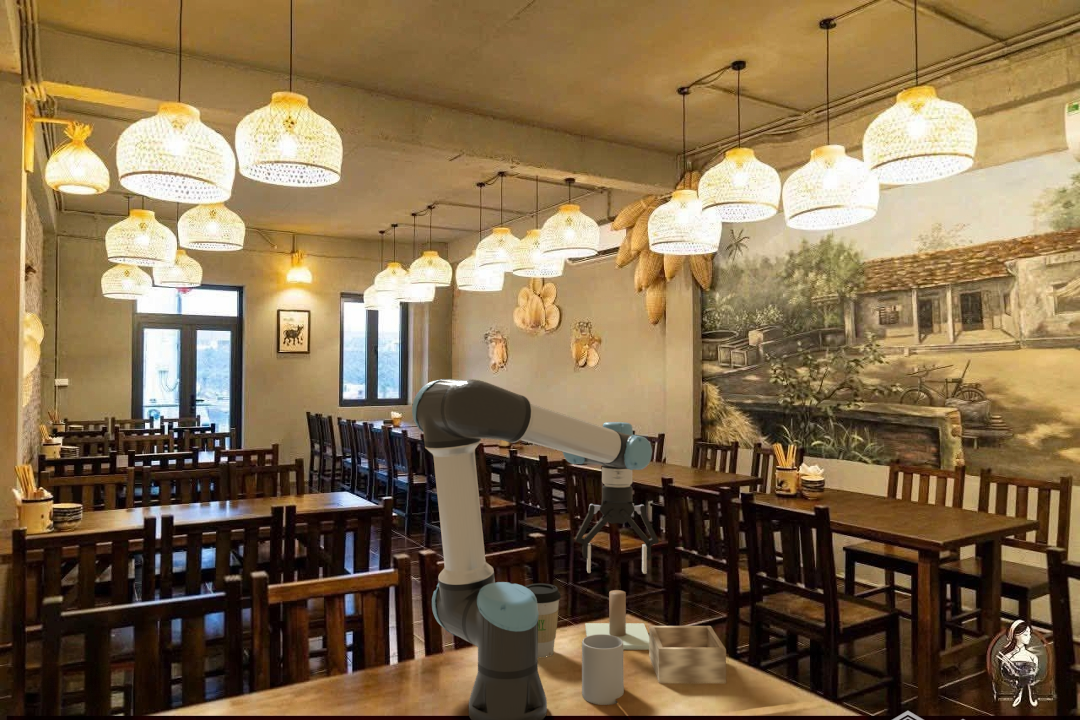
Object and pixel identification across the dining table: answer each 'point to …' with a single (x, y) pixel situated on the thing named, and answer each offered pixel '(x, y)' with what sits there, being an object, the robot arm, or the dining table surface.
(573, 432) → the robot arm
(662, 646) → the box
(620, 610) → the lid
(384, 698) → the dining table surface
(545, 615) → the coffee cup
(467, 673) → the dining table surface
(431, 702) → the dining table surface
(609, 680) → the mug
